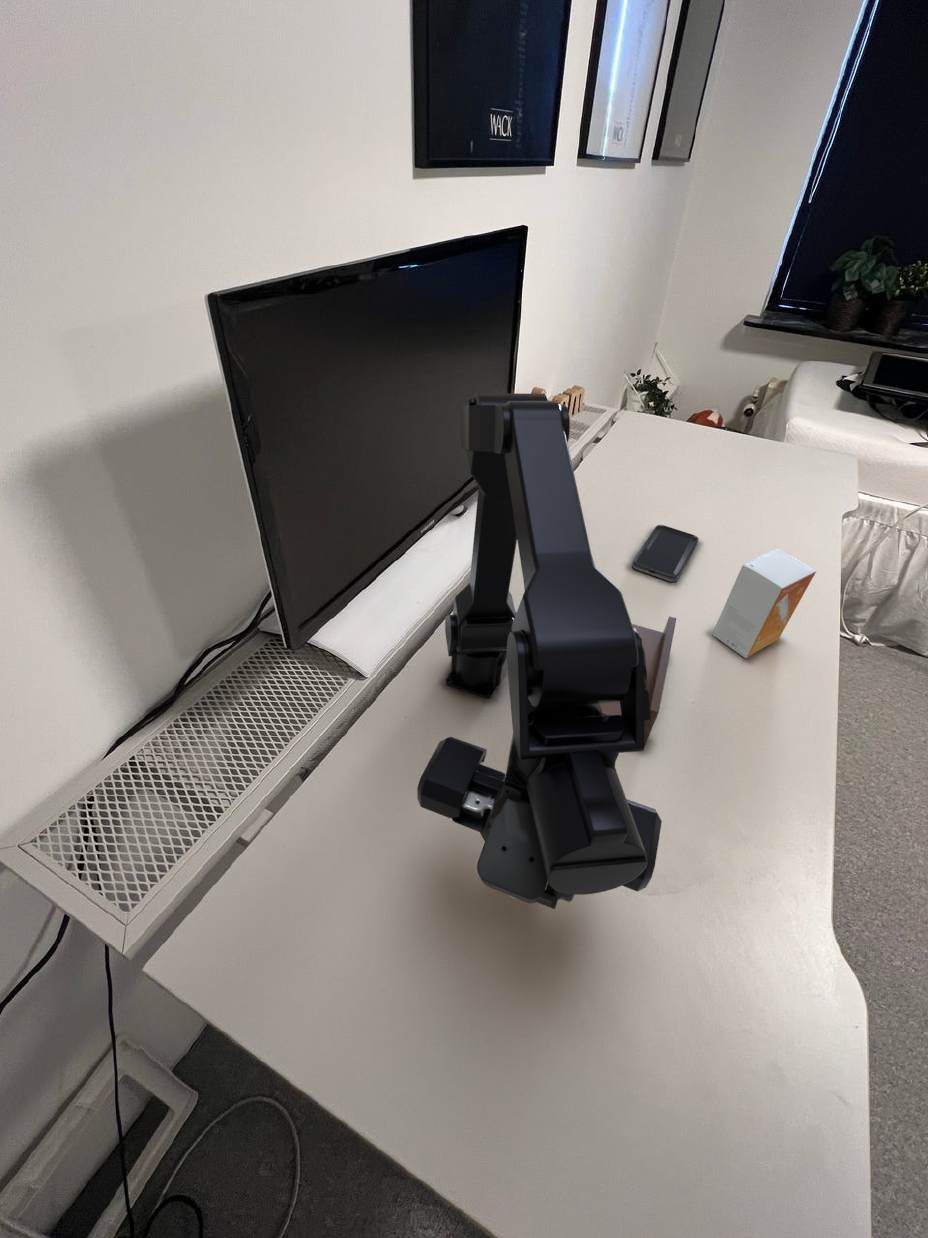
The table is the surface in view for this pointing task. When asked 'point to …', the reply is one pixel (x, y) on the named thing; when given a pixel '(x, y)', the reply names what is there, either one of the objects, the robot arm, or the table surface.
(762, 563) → the small box
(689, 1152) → the table surface
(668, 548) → the phone
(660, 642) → the wooden coaster tray
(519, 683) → the robot arm
